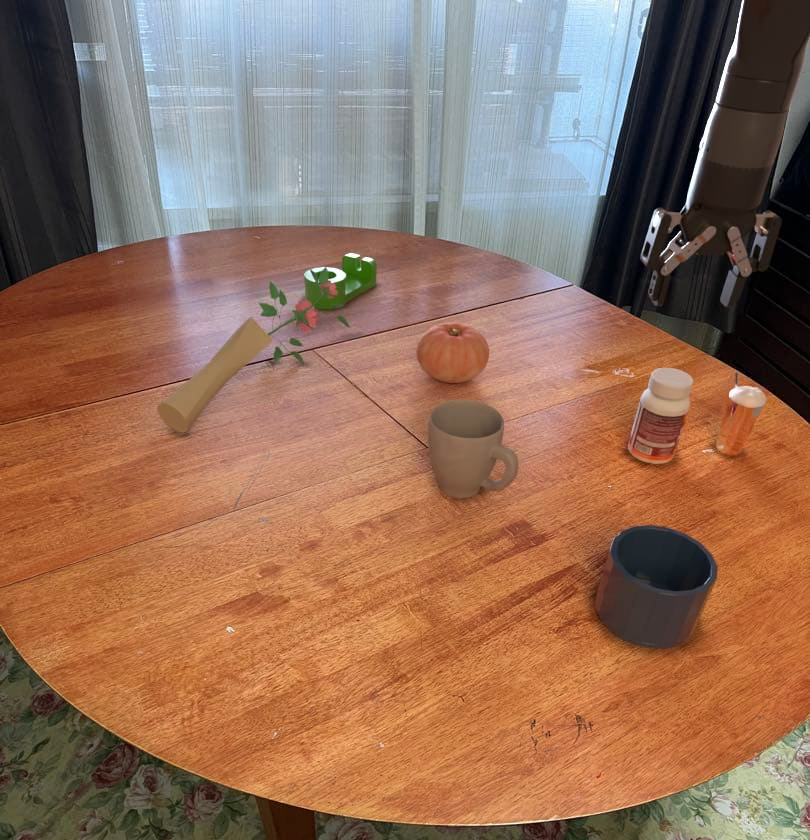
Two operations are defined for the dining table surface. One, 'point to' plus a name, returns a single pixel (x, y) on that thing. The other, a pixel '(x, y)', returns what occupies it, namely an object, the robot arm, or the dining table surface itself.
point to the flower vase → (240, 356)
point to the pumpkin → (453, 352)
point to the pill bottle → (661, 416)
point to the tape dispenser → (342, 281)
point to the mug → (468, 448)
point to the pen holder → (655, 586)
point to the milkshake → (739, 417)
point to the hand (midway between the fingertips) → (691, 304)
